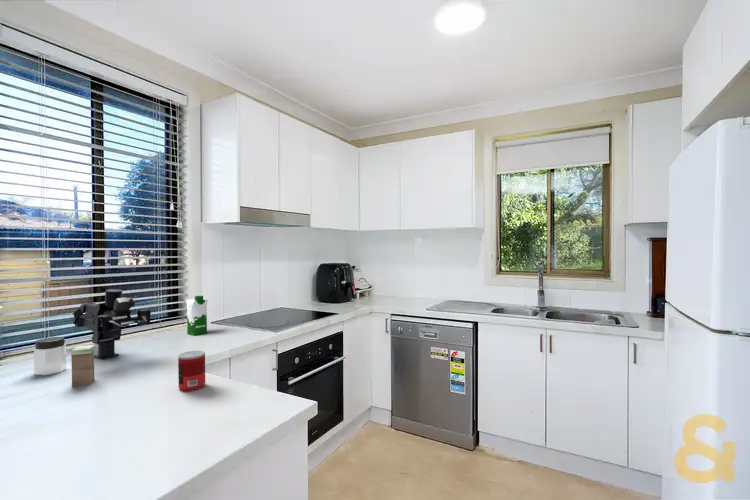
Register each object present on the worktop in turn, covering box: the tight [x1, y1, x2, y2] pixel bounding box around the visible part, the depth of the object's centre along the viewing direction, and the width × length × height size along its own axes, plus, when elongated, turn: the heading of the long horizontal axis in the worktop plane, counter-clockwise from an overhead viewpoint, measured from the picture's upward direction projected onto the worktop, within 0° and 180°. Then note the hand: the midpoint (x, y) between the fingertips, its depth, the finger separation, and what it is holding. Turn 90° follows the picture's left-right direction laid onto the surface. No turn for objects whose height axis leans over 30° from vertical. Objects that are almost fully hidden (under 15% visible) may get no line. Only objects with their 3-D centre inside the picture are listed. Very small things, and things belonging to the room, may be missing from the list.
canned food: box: [177, 350, 206, 392], centre depth 122 cm, size 8×8×11 cm
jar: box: [33, 336, 67, 376], centre depth 137 cm, size 9×8×12 cm
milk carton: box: [185, 295, 209, 336], centre depth 196 cm, size 9×9×20 cm
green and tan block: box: [70, 344, 95, 388], centre depth 126 cm, size 5×5×12 cm
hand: (134, 325), depth 142 cm, fingers open, 9 cm apart
